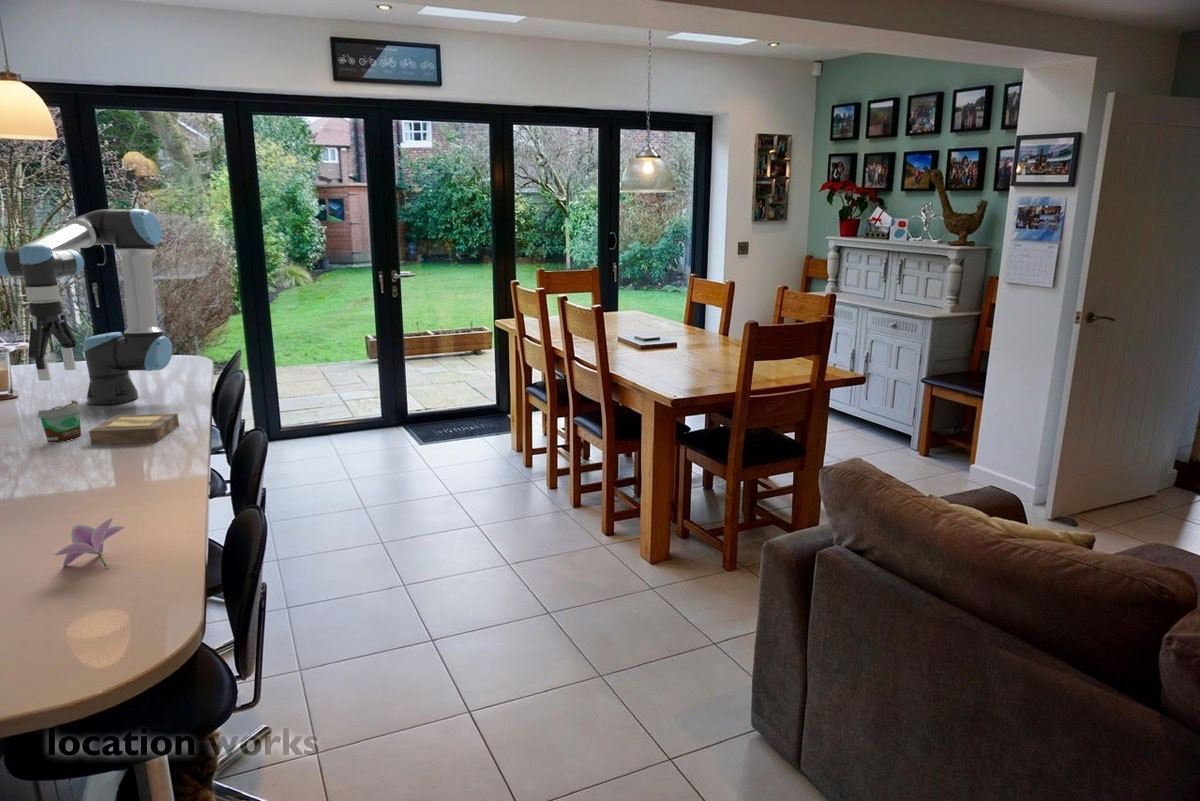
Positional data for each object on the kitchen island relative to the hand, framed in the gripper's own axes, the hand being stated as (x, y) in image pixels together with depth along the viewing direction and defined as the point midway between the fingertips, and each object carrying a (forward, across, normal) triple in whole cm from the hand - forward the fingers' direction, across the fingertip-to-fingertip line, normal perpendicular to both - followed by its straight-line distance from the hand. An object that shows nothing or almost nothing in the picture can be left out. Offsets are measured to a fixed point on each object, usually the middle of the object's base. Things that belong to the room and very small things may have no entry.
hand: (58, 374), depth 226 cm
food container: (+19, 0, 0) cm, 19 cm away
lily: (+20, +87, +47) cm, 101 cm away
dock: (+19, -1, +18) cm, 26 cm away
